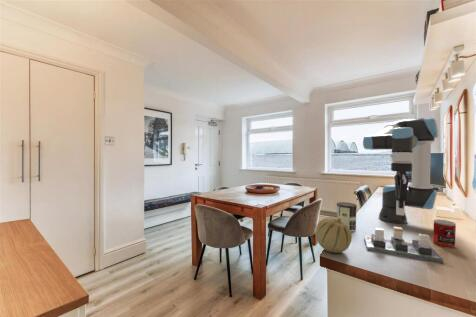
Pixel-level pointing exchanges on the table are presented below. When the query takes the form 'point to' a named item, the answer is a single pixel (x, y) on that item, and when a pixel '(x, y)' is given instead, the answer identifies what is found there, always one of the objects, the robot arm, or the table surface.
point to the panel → (410, 249)
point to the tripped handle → (397, 232)
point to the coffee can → (347, 214)
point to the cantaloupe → (333, 235)
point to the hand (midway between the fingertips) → (400, 214)
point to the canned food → (444, 233)
